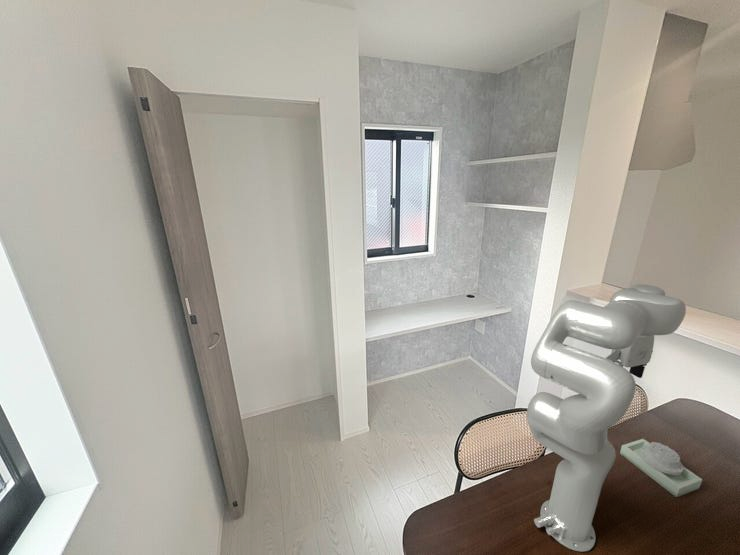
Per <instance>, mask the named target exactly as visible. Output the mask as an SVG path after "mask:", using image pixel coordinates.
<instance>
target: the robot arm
mask: <svg viewBox="0 0 740 555" xmlns="http://www.w3.org/2000/svg"><path fill="white" fill-rule="evenodd" d="M686 310H687V308H686V304H685V303H684V301H683V300H681V299H679V298H677V297H674V296H668V295H666V292H665V290H664V289H663V288H660V287H658V286H656V285H651V284H637V283H636V284H633V285H631V286H630V287H628V288H627V287H626V288H622V289H619V290H617V291H616V292H614V293H613V294H612V295H611V297H610V299H609V303H607V304H606V305H604V306H600V305H596V304H592V303H587V302H582V301H578V300H575V299H571V300H570V299H569V300H567V301H565V302H564V303H562V304H561V305H560V306H559V307H558V308H557V309H556V311H555V312H554V314H553V315H552V317H551V318H550V320H549V321H548V324H547V325H546V328H545V329H544V331H543V333H542V334H541V337H540V338H539V339H538V342H537V343H536V346H534V349H533V352H532V354H531V357H530V358H531V359H530V365H531V369H532V370H533V372H534V373H536V375H537V376H540V377H541V378H543V379H546V380H548V381H551V382H552V383H554V384H557V385H559V386H562V387H563V388H566V389H568V390H570V391H573V392H575V393H577V394H574V395H570V396H568V397H565V398H561V397H559V396H557V395H555V394H552V393H550V392H546V391H542V392H537V393H536V394H535V395H533V396H532V397H531V399H530V401H529V403H528V406H527V408H526V409H527V410H526V420H527V425H528V426H529V430H530V433H531V434H532V437H533V438H534V440H535V441H536V442H538V444H540V445H542V447H543V446H544V448H546V449H548V450H549V451H552V452H554V454H557V455H559V456H560V457H561V458H563V459H562V460H561V461H560V462H559V463H558V465H557V466H556V469H555V474H554V479H553V483H552V488H551V492H550V498H549V499H548V500H546V501H545V502H543V503H542V505H541V507H540V516H539V517H536V518H534V519H533V522H534V524H535V526H536V527H537V528H542V527H544V528H545V531H546V533H547V535H548V536H552V538H553V539H554V540H555V541H557V542H558V543H559V544H560V545H562V546H564V547H566V548H567V549H570V550H572V551H575V552H581V553H582V552H589V551H590V550H591V549H592V548H593V547H594V545H595V543H596V532H595V529H594V526H593V525H592V523H593V519H594V516H595V513H596V509H597V506H598V502H599V498H600V495H601V491H602V489H603V488H602V487H603V485H604V483H605V479H606V477H607V476H608V474H609V472H610V470H612V467H613V466H614V464H615V461H616V449H615V447H614V446H613V444H612V443H611V442H610V441H609V440H608V430H609V429H610V428H611V427H613V426H615V425H616V424H617V423H618V422H619V421H620V420H621V419H622V418H623V417H624V416H625V415H626V413H627V412H628V410H629V408H630V406H631V404H632V402H633V399H634V396H635V395H636V394H635V393H636V389H637V388H636V381H635V378H634V376H635V377H636V378H639V379H642V378H643V376H644V373H645V372H644V371H645V369H646V366H647V364H648V363H650V361H651V358H652V355H653V353H654V345H655V344H654V343H655V336H667V335H670V334H671V335H672V334H673V333H674V332H676V331H677V330H678V329H679V327H680V326H681V324H682V323H683V321H684V319H685V317H686V313H687V311H686ZM567 337H569V338H572V339H574V340H578V341H580V342H584V343H587V344H590V345H594V346H597V347H600V348H603V349H608V350H611V352H610V354H609V355H608V356H606V357H603V356H599V355H598V354H597V355H596V354H594V353H592V352H588V351H585V350H583V349H579V348H576V347H574V346H571V345H569V344H565V343H564V341H565V340H566V338H567ZM626 368H630V369H629V370H627V369H626Z"/></svg>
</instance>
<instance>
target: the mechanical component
mask: <svg viewBox="0 0 740 555" xmlns="http://www.w3.org/2000/svg"><path fill="white" fill-rule="evenodd" d="M640 455H641V457H642V458H643V459H644V460H645V461H646V462H647V463H648V464H649V465H651V466H652V467H654V468H655V469H657V470H659V471H661V472H664V473H667V474H671V475H679V474H681V473H682V471H683V466H684V465H683V463H682V462H681V457H680V455H679V453H678V452H676V450H674V449H672V448H670V447H669V446H668V445H664V444H662V443H660V442H657V441H655V442H654V441H652V442H649V443H648V445H647V446H643V447H642V448H641V450H640Z"/></svg>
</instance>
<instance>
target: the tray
mask: <svg viewBox="0 0 740 555" xmlns="http://www.w3.org/2000/svg"><path fill="white" fill-rule="evenodd" d="M648 443H650V442H649V441H648V440H645V439H644V438H641V439H637V440H635V441H631V442H628V443H625V444H621V448H620V451H619V454H620V455H621V456H623V457H624V458H626V460H628V461H629V462H630V463H632V464H633V465H634V466H635V467H637V468H638V469H640V470H641V471H642V472H643V473H645V475H646V476H649V477H650V478H651V479H652V480H653V481H655V483H657V484H659V485H660V486H661V487H662V488H663V489H665V490H666V491H667V492H669V493H670V494H672V495H673V496H674V497H675V498H679V497H681V496H684V495H685V494H688V493H690V492H693V491H696V490H698V489H700V486H701V485H702V483H703V478H701V477H699V476H698V475H696V473H694V472H692V471H691V470H690V469H688V468H686V467H685V466H684V465H683V471H682V473H681V474H679V475H671V474H667V473H664V472H661V471H659V470H657V469H655V468H654V467H652V466H651V465H649V464H648V463H647V462H646V461H645V460H644V459H643V458H642V457H641V455H640V450H641V448H642V447H643V446H647V445H648Z"/></svg>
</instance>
